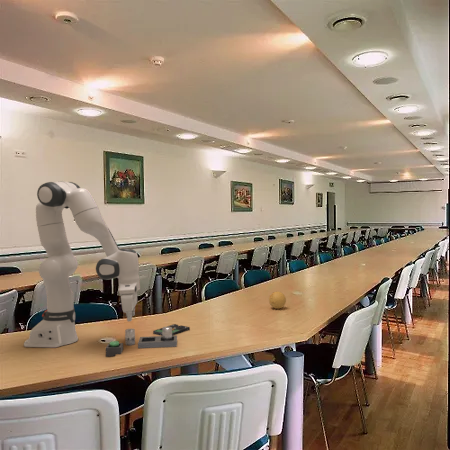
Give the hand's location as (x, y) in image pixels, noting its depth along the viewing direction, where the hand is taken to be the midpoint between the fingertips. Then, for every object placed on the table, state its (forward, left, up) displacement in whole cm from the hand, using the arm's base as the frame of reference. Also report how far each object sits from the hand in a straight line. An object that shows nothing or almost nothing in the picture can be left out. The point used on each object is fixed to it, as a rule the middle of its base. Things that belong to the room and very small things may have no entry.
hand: (131, 318), depth 186 cm
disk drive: (+16, +17, -13) cm, 27 cm away
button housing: (-6, -10, -12) cm, 16 cm away
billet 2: (+15, -2, -11) cm, 19 cm away
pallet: (+11, -2, -12) cm, 17 cm away
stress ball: (+76, +60, -12) cm, 98 cm away
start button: (-6, -10, -8) cm, 14 cm away
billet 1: (-1, 0, -12) cm, 12 cm away
